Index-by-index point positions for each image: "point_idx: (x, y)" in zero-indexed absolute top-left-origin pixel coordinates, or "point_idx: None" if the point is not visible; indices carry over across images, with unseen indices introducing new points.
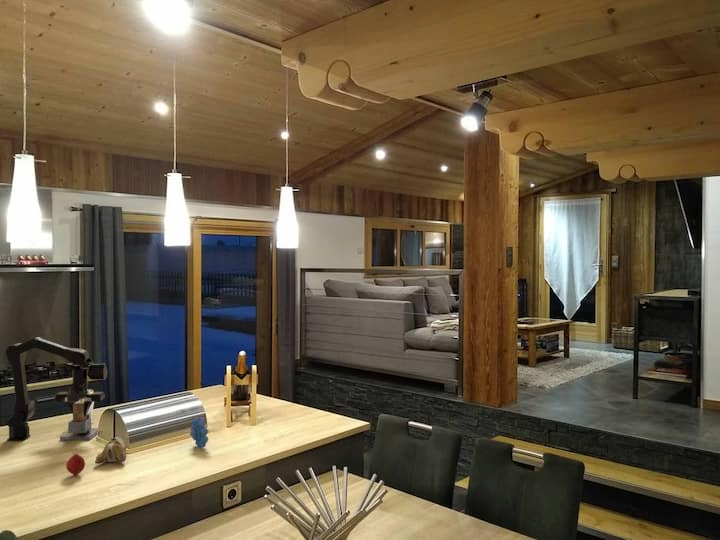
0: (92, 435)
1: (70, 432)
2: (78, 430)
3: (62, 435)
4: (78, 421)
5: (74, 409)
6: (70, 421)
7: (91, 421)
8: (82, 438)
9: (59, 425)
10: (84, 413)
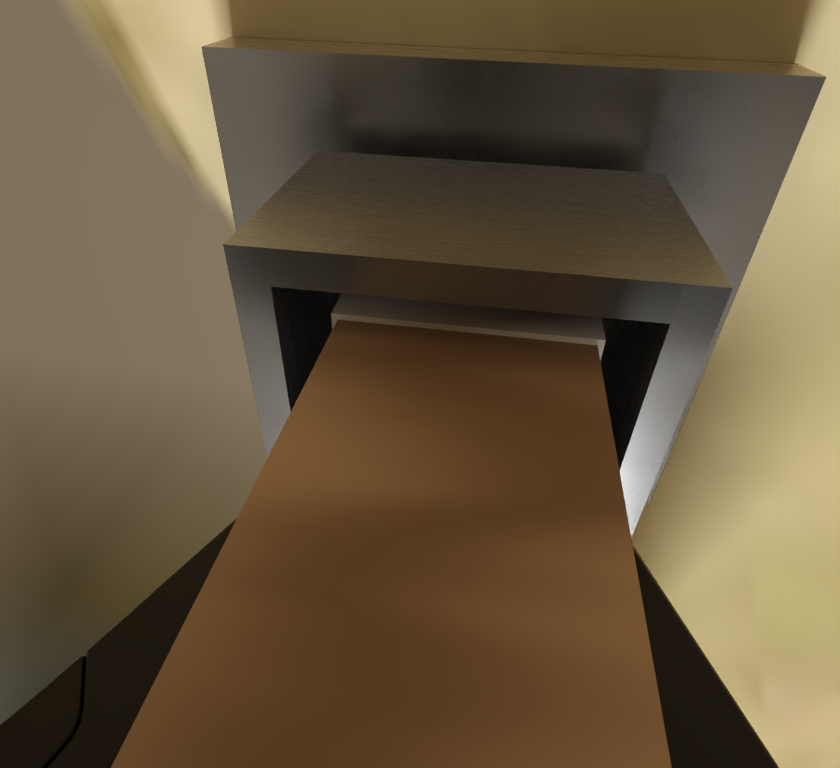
0: (235, 179)
1: (616, 174)
2: (440, 174)
3: (774, 175)
4: (445, 341)
5: (587, 735)
6: (671, 356)
7: None
8: (354, 48)
9: (811, 654)
10: None
